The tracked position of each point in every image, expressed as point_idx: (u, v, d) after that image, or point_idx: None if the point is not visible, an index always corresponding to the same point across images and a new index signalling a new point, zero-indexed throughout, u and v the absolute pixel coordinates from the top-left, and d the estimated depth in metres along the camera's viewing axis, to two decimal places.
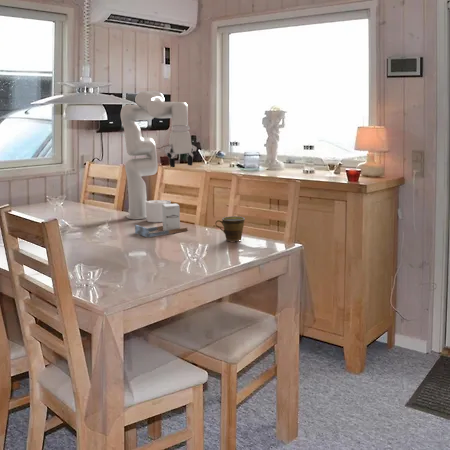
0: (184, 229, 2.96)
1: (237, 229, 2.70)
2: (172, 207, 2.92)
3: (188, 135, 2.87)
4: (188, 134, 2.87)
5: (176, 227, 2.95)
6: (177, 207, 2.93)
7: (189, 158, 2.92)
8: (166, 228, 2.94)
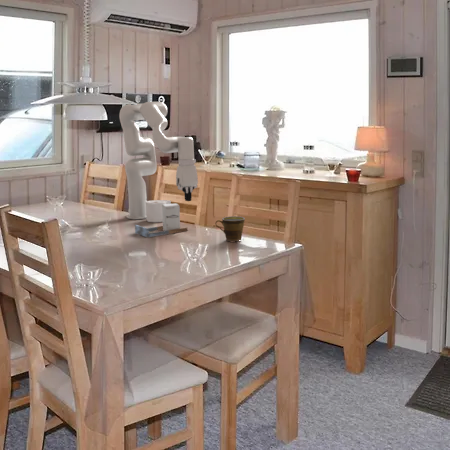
0: (184, 229, 2.96)
1: (237, 229, 2.70)
2: (172, 207, 2.92)
3: (194, 168, 2.98)
4: (194, 167, 2.98)
5: (176, 227, 2.95)
6: (177, 207, 2.93)
7: None
8: (166, 228, 2.94)
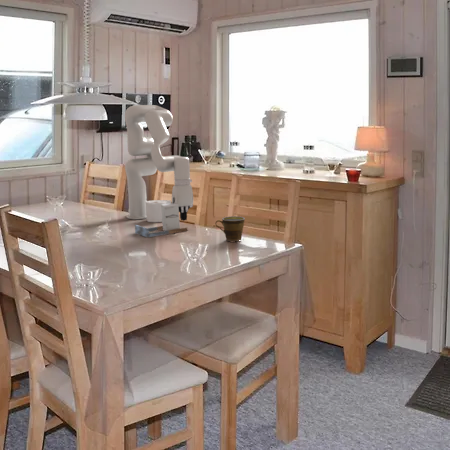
0: (184, 229, 2.96)
1: (237, 229, 2.70)
2: (171, 207, 2.92)
3: (190, 188, 2.98)
4: (190, 187, 2.98)
5: (176, 226, 2.95)
6: (176, 206, 2.93)
7: None
8: (166, 228, 2.94)
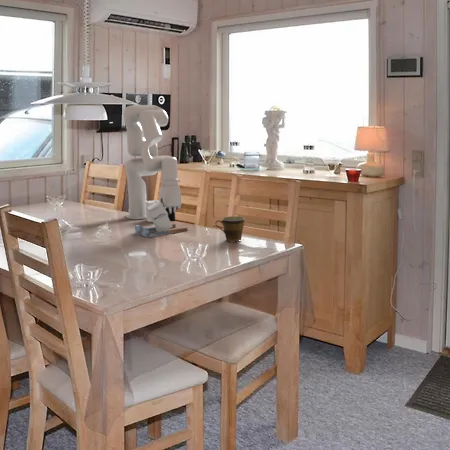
0: (184, 229, 2.96)
1: (237, 229, 2.70)
2: (156, 208, 2.88)
3: (178, 188, 2.94)
4: (178, 187, 2.94)
5: (167, 225, 2.92)
6: (161, 206, 2.89)
7: None
8: (158, 229, 2.91)
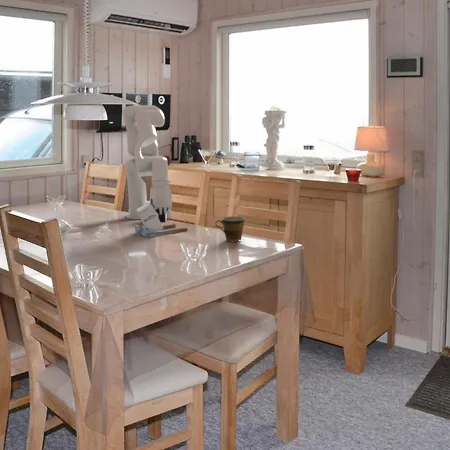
0: (184, 229, 2.96)
1: (237, 229, 2.70)
2: (146, 209, 2.85)
3: (168, 189, 2.91)
4: (168, 188, 2.91)
5: (158, 226, 2.88)
6: (150, 207, 2.86)
7: None
8: (149, 231, 2.88)
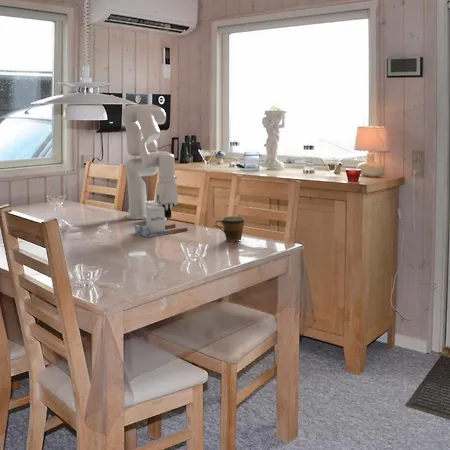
0: (184, 229, 2.96)
1: (237, 229, 2.70)
2: (157, 209, 2.87)
3: (175, 185, 2.93)
4: (175, 184, 2.93)
5: (161, 229, 2.90)
6: (162, 209, 2.88)
7: None
8: (151, 231, 2.88)
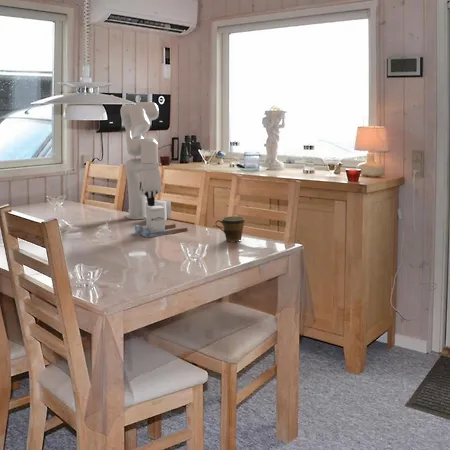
0: (184, 229, 2.96)
1: (237, 229, 2.70)
2: (157, 209, 2.87)
3: (157, 172, 2.86)
4: (157, 171, 2.86)
5: (161, 230, 2.90)
6: (162, 209, 2.88)
7: None
8: (151, 231, 2.88)
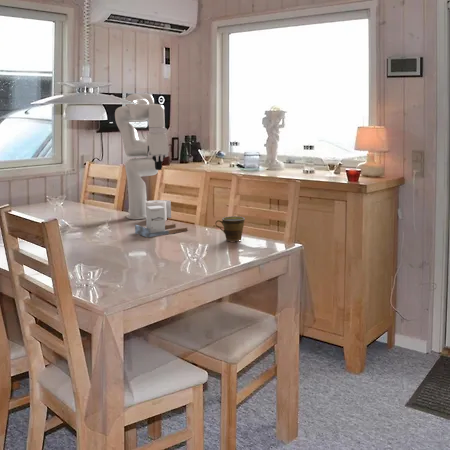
0: (184, 229, 2.96)
1: (237, 229, 2.70)
2: (157, 209, 2.87)
3: (165, 137, 2.93)
4: (165, 136, 2.93)
5: (161, 230, 2.90)
6: (162, 209, 2.88)
7: None
8: (151, 231, 2.88)
